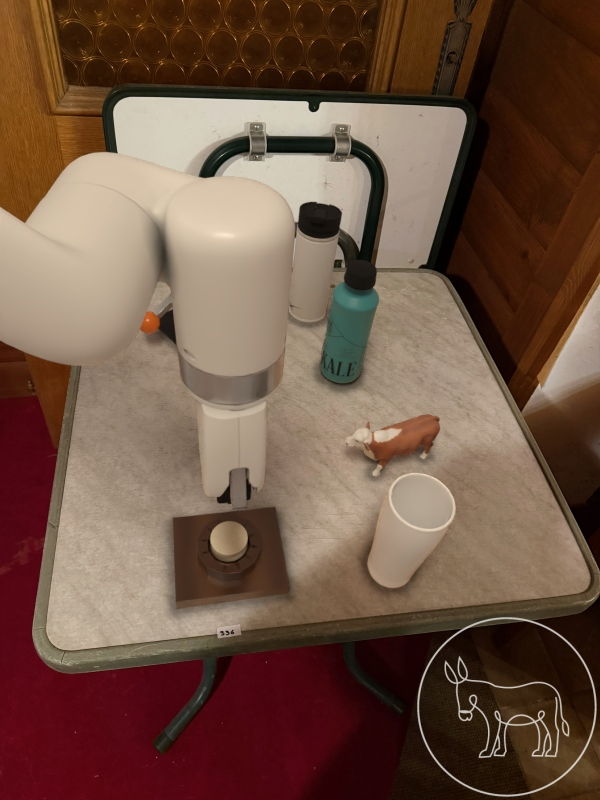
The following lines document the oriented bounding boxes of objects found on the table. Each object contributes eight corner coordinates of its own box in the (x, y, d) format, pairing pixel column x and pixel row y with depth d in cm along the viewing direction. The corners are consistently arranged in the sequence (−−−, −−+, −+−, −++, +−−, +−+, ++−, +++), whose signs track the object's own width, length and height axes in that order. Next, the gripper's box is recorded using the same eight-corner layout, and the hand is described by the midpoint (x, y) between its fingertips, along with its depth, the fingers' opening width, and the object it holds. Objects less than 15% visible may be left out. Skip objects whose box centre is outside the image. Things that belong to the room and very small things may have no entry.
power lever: (152, 341, 81) (141, 330, 79) (139, 329, 83) (129, 318, 80) (215, 280, 83) (207, 267, 80) (201, 270, 85) (193, 256, 82)
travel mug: (284, 325, 92) (295, 214, 77) (291, 300, 96) (303, 192, 82) (321, 332, 92) (340, 222, 77) (327, 307, 96) (345, 199, 81)
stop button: (212, 564, 60) (211, 557, 58) (209, 530, 62) (208, 523, 61) (249, 559, 60) (249, 552, 59) (245, 526, 63) (245, 519, 62)
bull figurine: (335, 461, 75) (344, 422, 69) (421, 438, 79) (437, 399, 73) (348, 487, 72) (359, 450, 66) (437, 462, 76) (455, 424, 70)
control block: (177, 610, 60) (174, 595, 57) (173, 526, 66) (171, 509, 63) (287, 595, 62) (290, 579, 59) (274, 515, 68) (276, 498, 65)
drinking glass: (350, 552, 66) (375, 482, 55) (399, 534, 68) (433, 463, 57) (377, 605, 62) (410, 541, 51) (428, 584, 64) (470, 518, 53)
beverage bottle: (350, 358, 88) (375, 249, 74) (366, 388, 84) (396, 279, 69) (311, 364, 87) (329, 253, 72) (325, 395, 83) (347, 285, 68)
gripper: (174, 295, 44) (189, 437, 58) (183, 445, 35) (198, 574, 48) (268, 291, 46) (261, 431, 59) (302, 435, 36) (284, 562, 50)
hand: (233, 494), depth 54 cm, fingers closed
